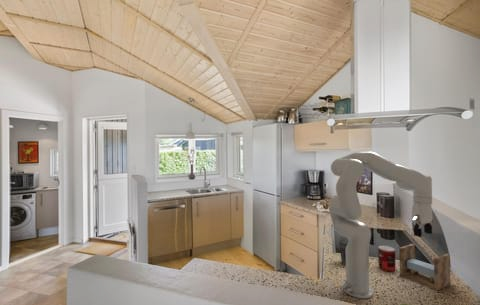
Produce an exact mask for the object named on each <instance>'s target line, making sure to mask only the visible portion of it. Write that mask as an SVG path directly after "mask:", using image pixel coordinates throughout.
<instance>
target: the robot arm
mask: <svg viewBox="0 0 480 305" xmlns="http://www.w3.org/2000/svg"><path fill="white" fill-rule="evenodd" d="M365 170H367V171H369V172H371V173H373V174H375V175H376V176H379V177H380V178H382V179H384V180H388V181H392V182H395V184H396V187H398V188H399V189H401V190H405V191H410V192H412V197H413V198H412V199H413V200H412V202H413V203H412V208H411V209H412V211H411V221H412V228H413V236H415V237H418V238H421V237H422V233H423V232H424V233H425V234H429V235H432V234H433V221H434V220H433V219H434V215H433V208H432V205H433V179H432V177H431V176H430V175H427V174H425V175H424V174H422V173H421V172H420V171H418V170H415V169H412V168H409V167H407V166H403V165H400V164H398V163H394V162H392V161H390V160H389V159H387V158H385V157H384V156H383V155H382V156H381V155H380V154H378V153H376V152H373V151H356V152H351V153H350V154H347V155H344V156H342V157H338V158H336V159H334V160H333V161H332V162H331V165H330V171H331V173H332V174H333V175H334V176H337V177H339V178H338V179H337V182H336V184H335V192H336V195H334V196H333V197H331V198H330V200H329V203H328V211H329V213H330V214H329V215H330V219H331V222H332V225H333V229H334V231H335V232H336V234H338V235H339V236H340V237H342V236H343V237H345V238H347V239H349V242H348V244H347V246H346V265H345V280H344V282H343V283H342V285H340V286H339V287H338V289H339V290H340V291H342V292H345V293H346V294H348V295H349V296H350V297H354V298H357V299H370V298H372V297H373V296H374V290H373V289H372V288H371V287H370V258H369V256H370V252H369V251H370V250H369V249H370V241H371V238H372V231H371V228H370V227H369V226H368V225H367V224H366V223H364V222H362V221H359V220H358V219H361V216H362V207H361V204H360V200H359V196H358V191H357V184H358V181H359V180H360V178H361V177H362V175H363V174H364V171H365ZM422 225H423V228H424V229H423V232H422Z"/></svg>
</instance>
